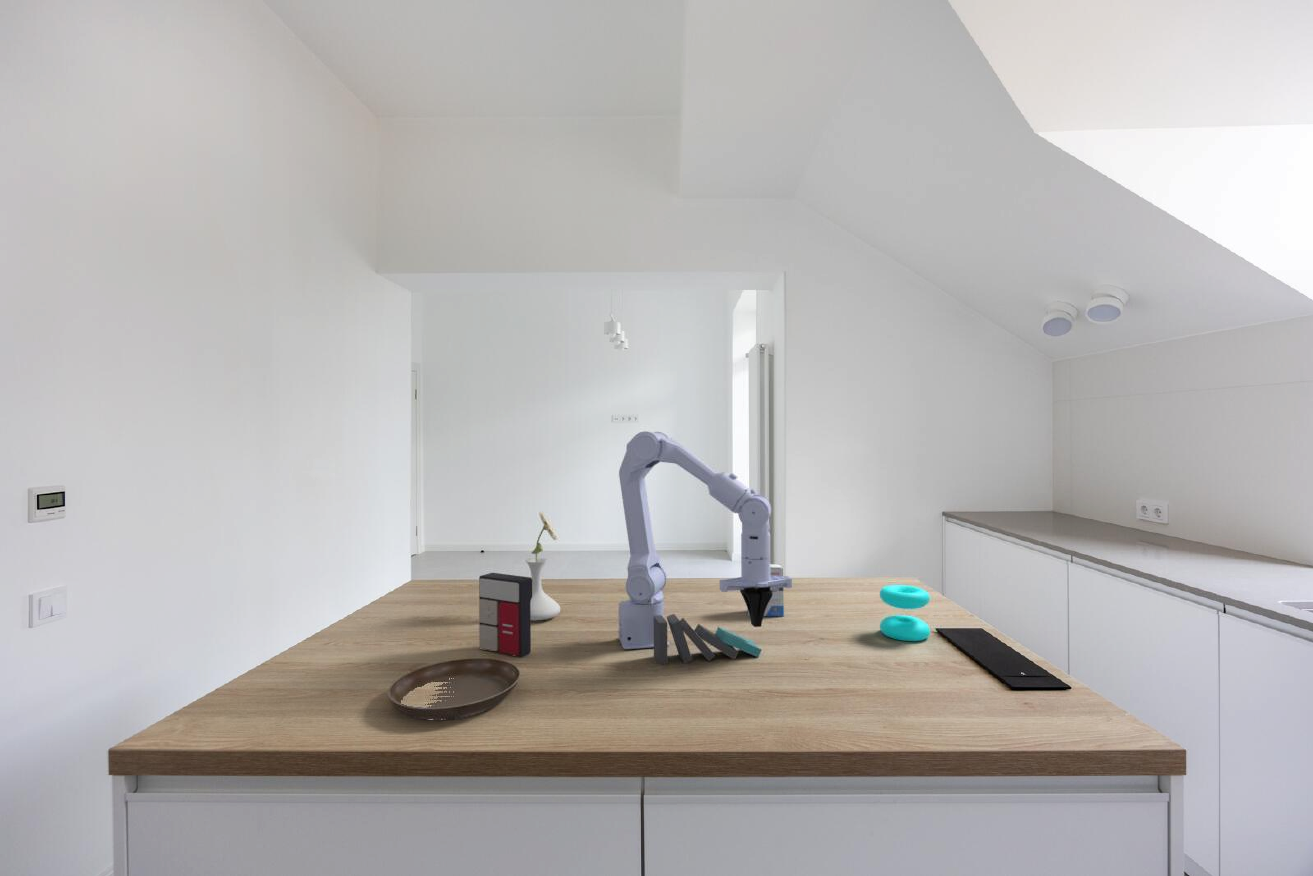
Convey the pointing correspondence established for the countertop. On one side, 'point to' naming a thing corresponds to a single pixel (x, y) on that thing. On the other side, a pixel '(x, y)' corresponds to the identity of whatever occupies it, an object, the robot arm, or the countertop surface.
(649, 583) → the robot arm
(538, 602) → the flower in vase
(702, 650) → the domino block
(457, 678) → the plant saucer
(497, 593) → the toy cabinet
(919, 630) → the donuts
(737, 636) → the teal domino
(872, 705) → the countertop surface
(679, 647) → the black domino
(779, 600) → the ink box
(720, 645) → the black domino
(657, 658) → the black domino
